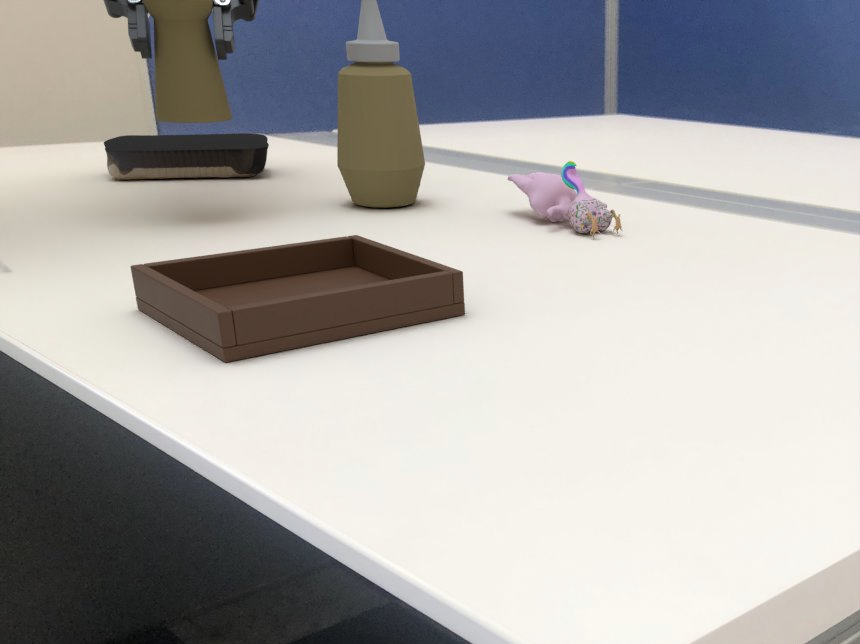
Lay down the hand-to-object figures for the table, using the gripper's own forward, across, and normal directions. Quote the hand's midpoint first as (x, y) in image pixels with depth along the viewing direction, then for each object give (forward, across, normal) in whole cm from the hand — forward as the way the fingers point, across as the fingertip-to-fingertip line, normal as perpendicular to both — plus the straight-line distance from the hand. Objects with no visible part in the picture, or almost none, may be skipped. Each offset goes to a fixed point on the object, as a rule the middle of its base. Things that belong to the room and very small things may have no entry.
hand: (183, 51), depth 86 cm
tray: (+31, +7, -12) cm, 34 cm away
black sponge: (-10, -3, +30) cm, 31 cm away
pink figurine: (+14, +30, +6) cm, 33 cm away
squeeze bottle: (+5, +16, +15) cm, 22 cm away
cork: (+3, 0, +5) cm, 6 cm away
